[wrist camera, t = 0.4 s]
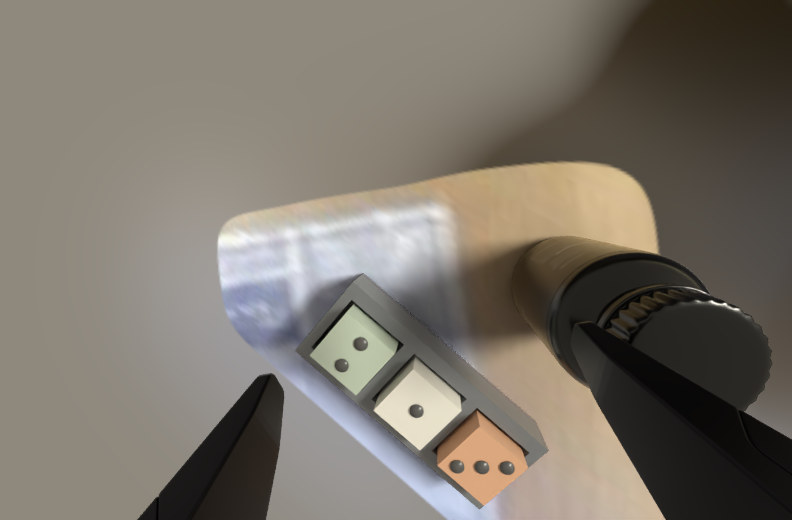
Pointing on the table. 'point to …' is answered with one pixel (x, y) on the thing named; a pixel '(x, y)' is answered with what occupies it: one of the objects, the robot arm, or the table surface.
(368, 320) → the tile two dots
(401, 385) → the tile one dot
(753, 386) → the supplement bottle
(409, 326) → the grey tile tray
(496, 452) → the tile three dots
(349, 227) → the table surface
